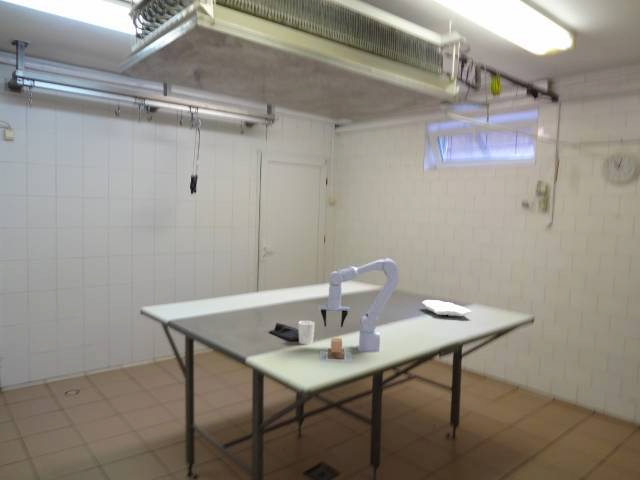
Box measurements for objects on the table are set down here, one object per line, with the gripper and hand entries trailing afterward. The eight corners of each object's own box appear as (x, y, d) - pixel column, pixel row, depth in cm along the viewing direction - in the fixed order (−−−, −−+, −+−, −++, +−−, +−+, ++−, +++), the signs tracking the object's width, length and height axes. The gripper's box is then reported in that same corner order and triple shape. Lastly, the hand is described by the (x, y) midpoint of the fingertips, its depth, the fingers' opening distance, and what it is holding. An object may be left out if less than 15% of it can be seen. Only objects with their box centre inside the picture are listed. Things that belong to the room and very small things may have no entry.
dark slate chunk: (287, 344, 222) (288, 334, 221) (267, 332, 240) (267, 323, 240) (314, 340, 230) (315, 330, 230) (292, 329, 248) (293, 320, 248)
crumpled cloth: (458, 321, 273) (460, 306, 273) (409, 309, 299) (412, 295, 299) (477, 322, 289) (480, 308, 289) (430, 310, 315) (432, 297, 315)
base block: (343, 354, 208) (343, 348, 208) (344, 359, 201) (344, 353, 201) (327, 353, 208) (328, 348, 208) (328, 358, 201) (328, 353, 201)
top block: (340, 349, 207) (341, 338, 206) (341, 352, 202) (342, 341, 202) (330, 349, 206) (331, 338, 206) (331, 352, 202) (331, 341, 202)
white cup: (313, 340, 228) (314, 320, 227) (314, 345, 220) (315, 325, 219) (297, 340, 227) (298, 320, 226) (297, 345, 219) (298, 324, 219)
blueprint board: (350, 352, 211) (350, 351, 211) (353, 363, 197) (353, 362, 197) (319, 351, 211) (319, 350, 211) (320, 362, 197) (320, 361, 197)
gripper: (319, 298, 211) (318, 327, 212) (351, 299, 212) (349, 329, 213) (319, 295, 218) (317, 323, 219) (349, 296, 219) (348, 325, 220)
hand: (333, 326), depth 216 cm, fingers open, 7 cm apart
